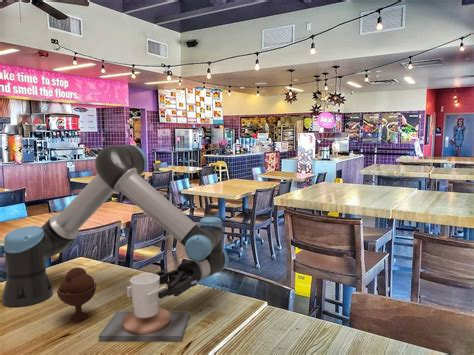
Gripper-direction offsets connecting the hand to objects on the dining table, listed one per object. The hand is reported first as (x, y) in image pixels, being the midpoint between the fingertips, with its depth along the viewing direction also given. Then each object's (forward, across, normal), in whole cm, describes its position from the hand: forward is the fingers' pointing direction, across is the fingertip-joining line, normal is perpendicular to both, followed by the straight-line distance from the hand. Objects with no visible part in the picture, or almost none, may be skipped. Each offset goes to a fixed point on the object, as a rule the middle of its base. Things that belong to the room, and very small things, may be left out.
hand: (137, 295), depth 102 cm
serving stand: (-3, 0, -10) cm, 11 cm away
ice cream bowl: (+4, +22, -11) cm, 25 cm away
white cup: (-3, 0, -6) cm, 7 cm away
